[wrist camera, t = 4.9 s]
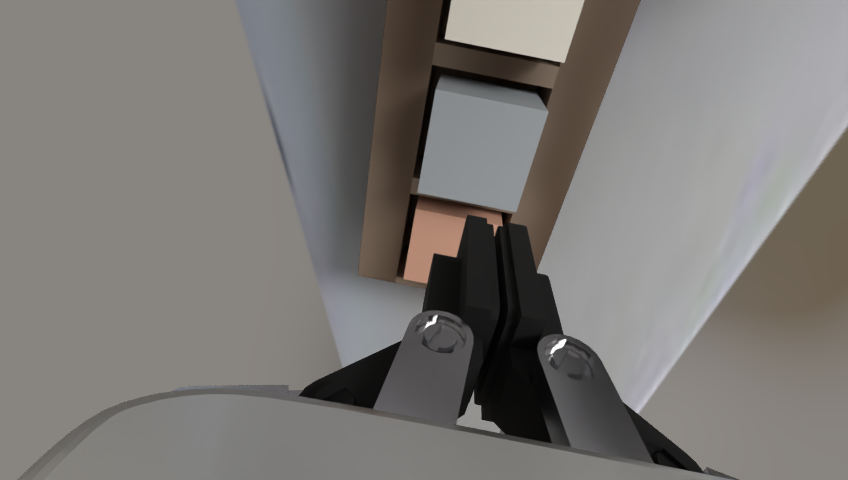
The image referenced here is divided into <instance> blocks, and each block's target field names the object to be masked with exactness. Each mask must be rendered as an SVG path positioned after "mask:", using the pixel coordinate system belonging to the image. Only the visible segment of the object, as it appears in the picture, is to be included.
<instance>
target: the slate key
mask: <svg viewBox="0 0 848 480" xmlns="http://www.w3.org/2000/svg"><path fill="white" fill-rule="evenodd" d="M548 112H549V111H548V110H547V108H546V107H545V105H544V104H543V102H542V100H541V99H540V97H539V96H538V94H537V93H536V92H531V91H526V90H521V89H516V88H511V87H506V86H501V85H496V84H491V83H486V82H481V81H476V80H471V79H466V78H461V77H456V76H451V75H446V74H441V76H440V79H439V81H438V84H437V87H436V90H435V96H434V101H433V107H432V113H431V118H430V124H429V130H428V135H427V141H426V147H425V152H424V158H423V163H422V169H421V175H420V180H419V186H418V192H417V193H421V194H426V195H431V196H436V197H442V198H447V199H452V200H457V201H462V202H467V203H472V204H477V205H482V206H487V207H492V208H497V209H502V210H507V211H512V212H516V211H517V208H518V205H519V202H520V199H521V196H522V193H523V190H524V187H525V183H526V180H527V177H528V174H529V171H530V168H531V165H532V162H533V159H534V156H535V152H536V149H537V146H538V143H539V140H540V137H541V134H542V131H543V128H544V125H545V122H546V118H547V115H548Z"/></svg>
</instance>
